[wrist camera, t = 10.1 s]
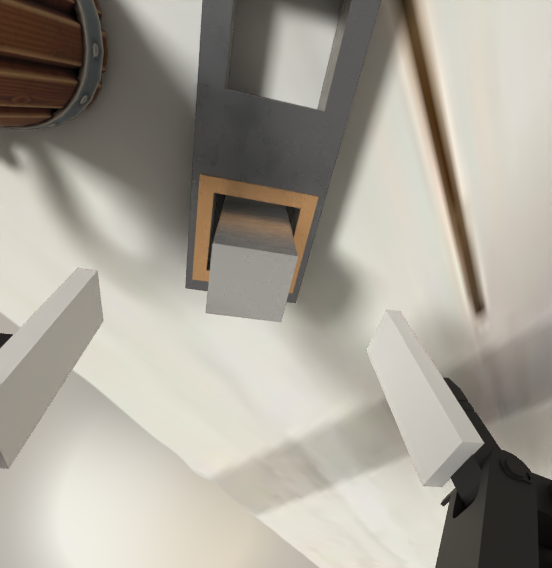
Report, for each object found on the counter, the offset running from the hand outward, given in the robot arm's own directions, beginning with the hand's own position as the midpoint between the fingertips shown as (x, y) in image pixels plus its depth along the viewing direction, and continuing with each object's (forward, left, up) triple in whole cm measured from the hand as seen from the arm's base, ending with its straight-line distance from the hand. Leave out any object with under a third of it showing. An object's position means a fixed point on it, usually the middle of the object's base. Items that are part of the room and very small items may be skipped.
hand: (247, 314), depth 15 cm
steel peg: (0, 0, -12) cm, 12 cm away
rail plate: (-6, 0, -12) cm, 13 cm away
